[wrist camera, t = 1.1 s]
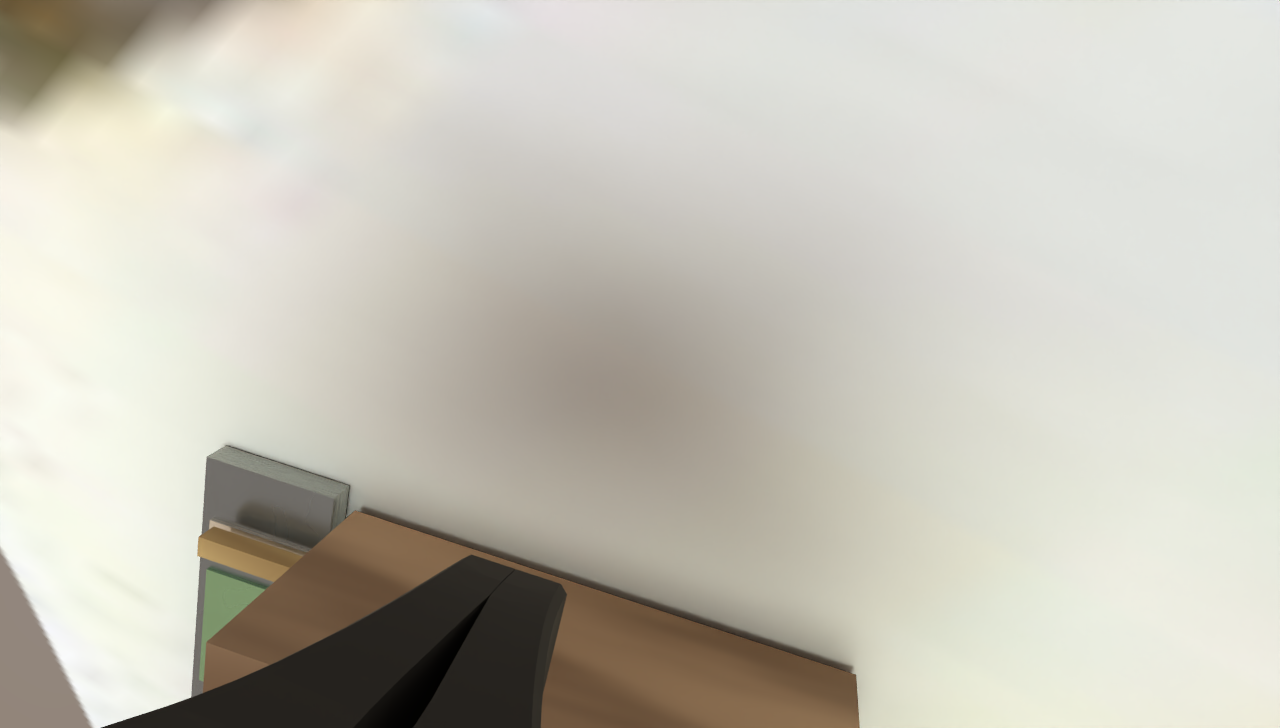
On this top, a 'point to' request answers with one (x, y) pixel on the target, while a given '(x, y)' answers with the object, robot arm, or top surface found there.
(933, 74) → the top surface
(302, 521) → the gauge frame
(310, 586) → the brown wooden block
